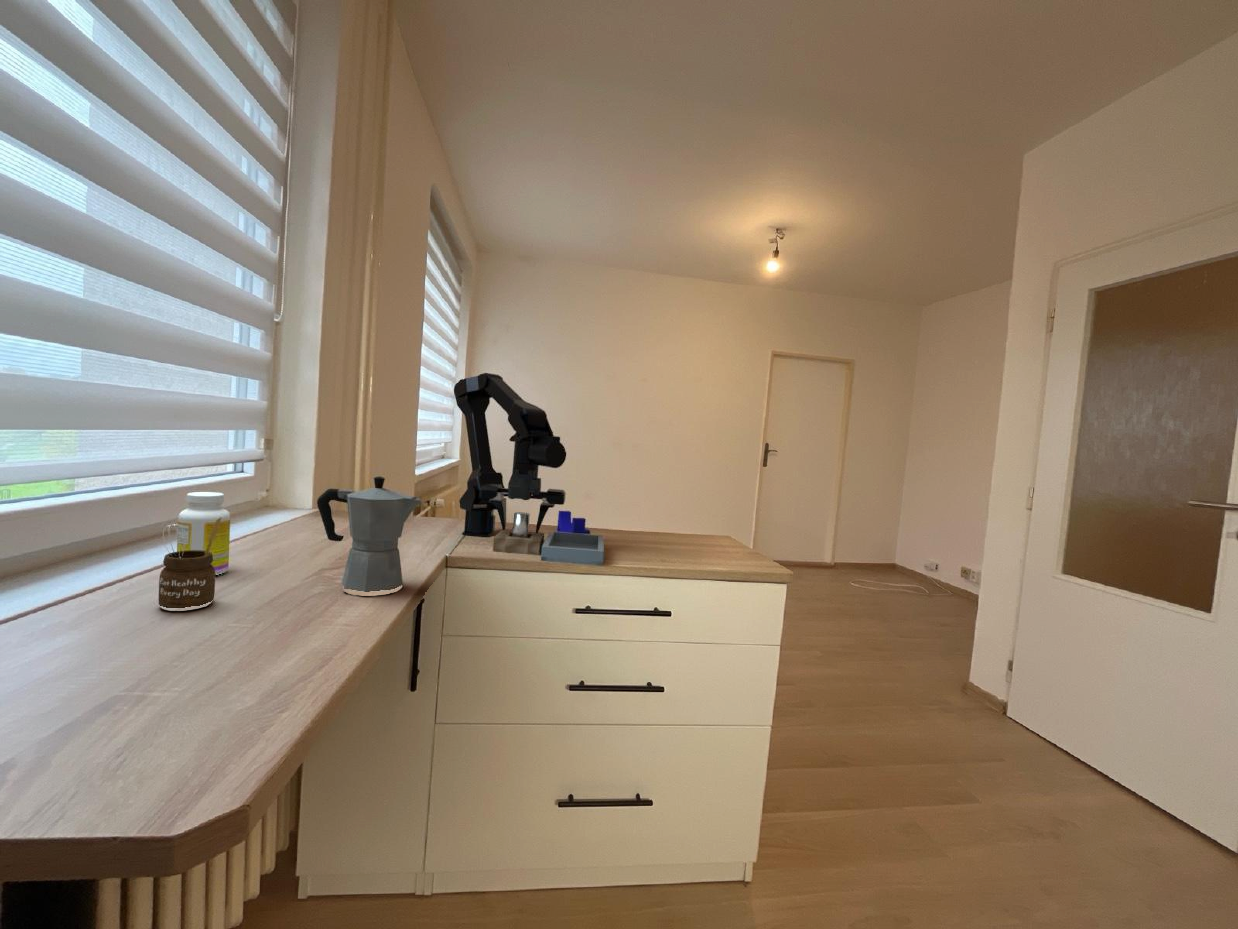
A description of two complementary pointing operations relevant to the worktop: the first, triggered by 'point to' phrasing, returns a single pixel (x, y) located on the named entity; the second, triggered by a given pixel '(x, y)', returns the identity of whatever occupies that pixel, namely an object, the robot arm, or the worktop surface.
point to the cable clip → (573, 527)
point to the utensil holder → (187, 575)
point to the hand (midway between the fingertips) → (520, 531)
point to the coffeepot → (370, 534)
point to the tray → (573, 548)
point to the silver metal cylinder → (521, 524)
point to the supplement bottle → (205, 527)
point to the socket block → (518, 543)
